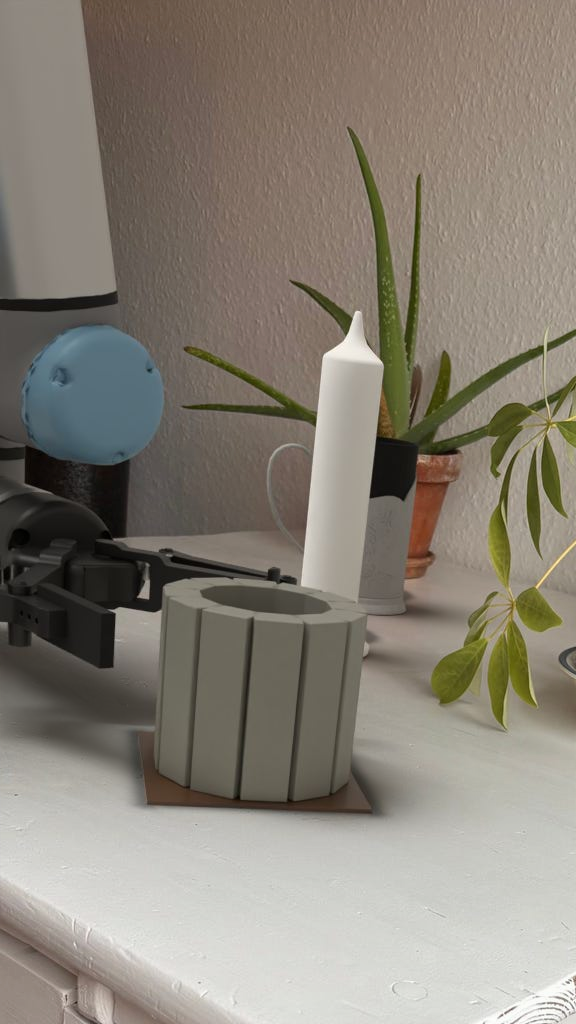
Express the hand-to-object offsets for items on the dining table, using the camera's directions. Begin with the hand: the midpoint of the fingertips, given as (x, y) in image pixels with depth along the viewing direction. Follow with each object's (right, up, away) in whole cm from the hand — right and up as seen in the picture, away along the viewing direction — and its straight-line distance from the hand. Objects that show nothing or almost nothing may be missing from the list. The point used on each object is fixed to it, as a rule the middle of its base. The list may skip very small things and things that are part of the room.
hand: (227, 635), depth 67 cm
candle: (+1, +5, +36) cm, 36 cm away
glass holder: (-1, +12, +53) cm, 55 cm away
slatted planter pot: (+1, -7, +1) cm, 7 cm away
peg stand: (+1, -8, +2) cm, 8 cm away
